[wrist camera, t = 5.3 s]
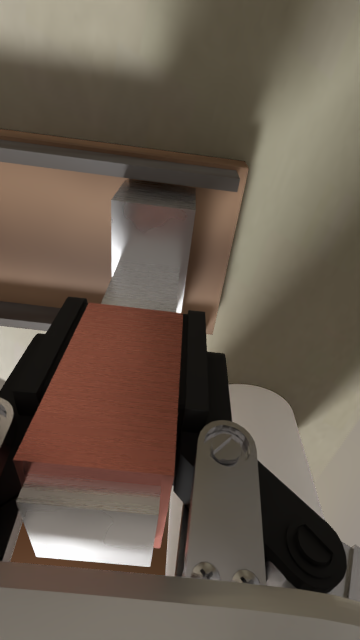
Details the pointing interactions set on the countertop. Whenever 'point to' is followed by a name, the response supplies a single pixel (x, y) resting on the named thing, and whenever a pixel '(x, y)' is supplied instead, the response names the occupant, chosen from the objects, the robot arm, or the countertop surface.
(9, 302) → the nutcracker board
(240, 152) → the countertop surface
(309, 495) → the cylinder container
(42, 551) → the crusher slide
